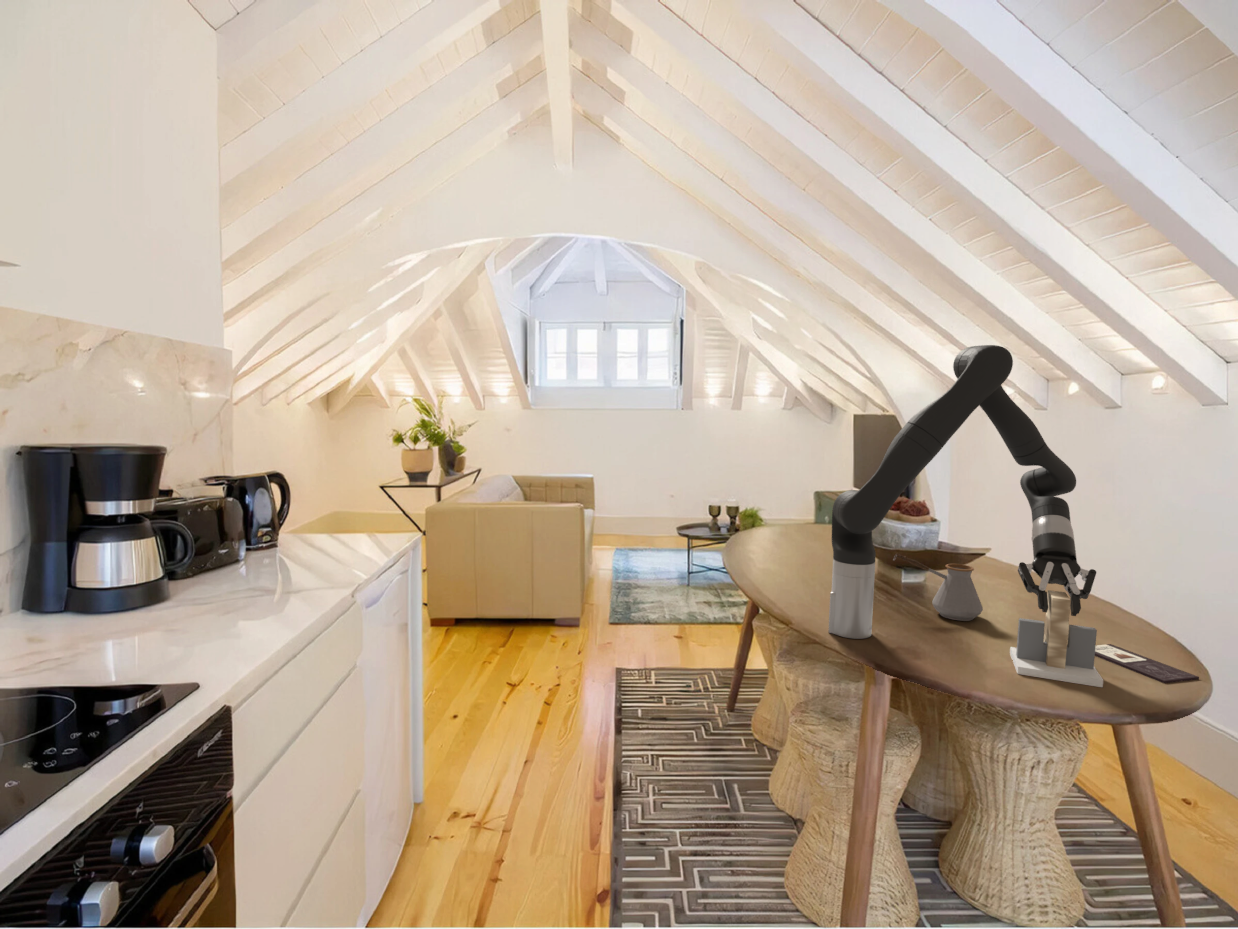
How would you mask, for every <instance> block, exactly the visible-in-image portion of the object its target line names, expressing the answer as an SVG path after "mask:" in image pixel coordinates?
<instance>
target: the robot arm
mask: <svg viewBox="0 0 1238 929" xmlns="http://www.w3.org/2000/svg"><path fill="white" fill-rule="evenodd" d="M1013 360H1014V359H1013V356H1012V353H1011V352H1010V350H1008V349H1007V348H1005V347H1003V346H1002V345H1001V346H1000V345H995V344H984V345H983V344H982V345H972V346H968V347H966V348H964V349H961V351H959V352H958V353H957V355H955V358H954V361H953V365H952V368H953V373H954V376H955V377H956V380H955V382H954V383H953V384H952V385H951V387H950V388H949V389H948V390H947V391H945V392H944V393H943V394H942V395H941V396H939V397H937V398H936V399H935V400H933V401H932V402H930V403H929V404H927V405H926V406H925V407H923V408H922V409H920V410H919V411H918V412H916V413H915V414H914V415H913V416H912V417H911V418H910V419H909V420H908V421H907V422H906V423H905V425H904V426H903V427H902V428H901V429H900V430H899V432H898V433H897V434H896V435H895V436H894V437H893V439H892V441H891V443H890V444H889V446H888V448H887V450H886V452H885V454H884V457H883V459H882V461H881V462H880V465H879V466H878V468H877V469H876V471H875V473H874V474H873V475H872V476H871V478H869V480H867V481H866V483H864V485H863V486H862V487H861V488H860V489H858V490H855V489H851V490H846V491H843V492H842V493H840V494H839V495H838V496H837V497H836V498H835V501H834V502H833V506H832V514H831V545H832V553H833V555H832V572H831V573H832V574H831V575H832V577H831V591H830V593H829V614H828V615H829V616H828V633H829V634H833V635H836V636H839V637H843V638H848V639H855V640H856V639H857V640H858V639H862V640H863V639H868V638H870V637H871V636H872V632H873V631H872V629H873V611H874V592H875V591H874V590H875V577H876V576H875V573H876V553H877V552H876V550H875V546H874V544H873V531H874V530H875V529H877V527H879V525H881V523H882V521H883V520H884V519H885V517H886V515H887V514H888V513H889V511H890V510H891V508H892V507H893V505H894V504H895V503H896V501H897V499H898V498H899V497H900V495H901V494H902V493H903V492H904V491H905V490H906V488H907V487H909V486H910V484H911V483H912V482H913V481H915V479H916V478H917V477H918V476H919V474H920V473H922V471H923V470H924V469H925V468H926V467H927V466H928V465H929V463H930V462H932V461H933V459H934V458H935V457H936V456H937V455H938V454H939V452H941V450H942V449H943V448H944V446H946V444H947V443H948V441H949V440H950V439H951V438H952V436H954V434H955V433H956V432H958V430H959V429H960V428H961V427H962V425H963V424H964V423H965V422H966V420H967V419H968V418H969V417H970V416H971V414H973V413H974V411H975V410H976V409H977V408H978V407H979V406H980V408H981V410H982V411H984V413H985V414H986V417H988V418H989V420H990V421H991V423H992V425H993V426H994V427H995V429H996V431H997V432H998V434H999V436H1000V438H1001V439H1002V441H1003V442H1004V443H1005V446H1006V447H1007V450H1008V452H1010V454H1011V455H1012V458H1013V460H1014V461H1015V463H1016V464H1018V465H1019V466H1022V467H1032V466H1038V467H1039V468H1036V469H1035V468H1034V469H1031V470H1028V471H1026V472H1024V473H1023V474H1022V476H1021V478H1020V481H1019V483H1020V488H1021V490H1022V492H1023V494H1024V496H1025V497H1026V499H1027V501H1028V505H1029V508H1030V510H1031V523H1032V526H1031V542H1032V551H1033V561H1032V562H1031V563H1025V562H1023V561H1022V562H1021V561H1020V562H1019V564H1018V568H1017V573H1018V574H1019V577H1020V578H1021V581H1022V583H1023V585H1024V588H1025V590H1026V591H1027V593H1030V594H1032V593H1033V594H1035V595H1036V597H1037V606H1038V609H1039V610H1041V611H1042V613H1045V614H1046V613H1047V610H1048V599H1047V594H1048V591H1046V590H1047V586H1048V585H1054V584H1055V585H1056V584H1057V585H1060V586H1063V588H1064V589H1065V592H1066V593H1068V594H1067V595H1068V597H1069V598H1070V600H1071V603H1070V616H1072V617H1077V615H1079V613H1080V611H1081V609H1082V605H1081V599H1083V600H1088V597H1089V596H1090V594H1091V591H1092V587H1093V586H1094V585H1093V584H1094V582H1095V579H1096V576H1097V571H1096V570H1095V569H1093V568H1091V569H1089V570H1088V569H1084V568H1082V567H1081V565H1079V563H1078V560H1077V551H1076V544H1075V535H1074V530H1073V527H1072V524H1071V523H1072V522H1071V513H1070V508H1069V507H1070V506H1069V504H1068V502H1067V501H1066V500H1065V499H1064V498H1062V497H1059V496H1062V495H1066V494H1068V493H1071V492H1073V491H1074V490H1075V488H1076V486H1077V478H1076V474H1075V472H1073V470H1072V469H1071V467H1069V466H1068V464H1066V463H1065V462H1064V461H1063V460H1062V459H1061V458H1060V457H1059V456H1058V455H1056V454H1055V453H1054V451H1053V450H1052V449H1051V448H1050V447H1049V446H1048V444H1047V443H1046V441H1045V439H1044V438H1043V436H1042V434H1041V432H1040V431H1039V429H1038V427H1037V426H1036V424H1035V423H1034V421H1033V420H1032V419H1031V418H1030V416H1028V415H1027V413H1026V412H1024V410H1022V408H1021V407H1019V405H1017V404H1016V402H1015V401H1014V400H1012V398H1011V397H1010V396H1009V395H1008V393H1007V392H1006V390H1005V389H1004V387H1003V383H1005V381H1007V379H1008V377H1009V376H1010V375H1011V373H1012V369H1013V365H1014V363H1013V362H1014V361H1013ZM1032 571H1033V572H1034V573H1035V574H1036V575H1037V576H1038V577H1039V578H1040V579H1041V580H1040V583H1039V585H1038V584H1036V583H1035V581H1034V579H1033V577H1032V575H1031V574H1032ZM1078 575H1080V576H1081V580H1082V581H1083V582H1084V585H1083V587H1082V588H1081V589H1079V587H1078V585H1077V581H1076V578H1077V576H1078Z"/></svg>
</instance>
